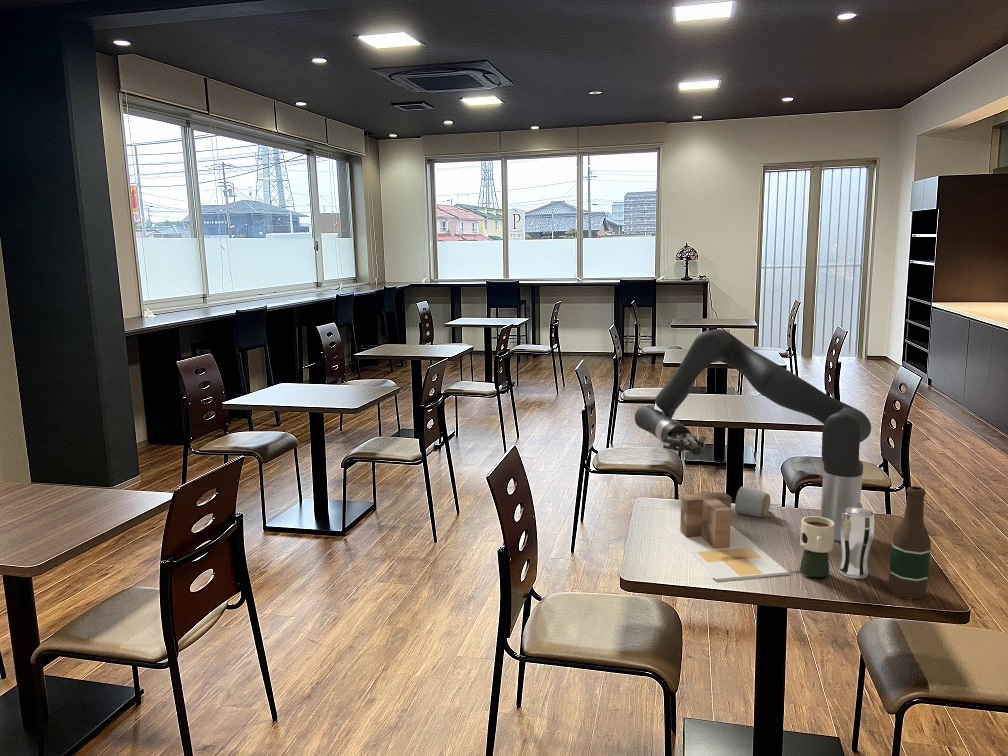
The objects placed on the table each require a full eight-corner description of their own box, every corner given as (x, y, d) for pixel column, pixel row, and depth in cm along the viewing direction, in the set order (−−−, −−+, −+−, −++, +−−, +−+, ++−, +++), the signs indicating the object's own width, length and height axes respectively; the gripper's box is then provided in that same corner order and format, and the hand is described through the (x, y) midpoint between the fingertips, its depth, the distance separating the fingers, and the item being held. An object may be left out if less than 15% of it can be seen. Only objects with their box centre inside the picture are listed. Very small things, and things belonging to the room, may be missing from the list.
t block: (680, 531, 202) (681, 495, 200) (722, 528, 204) (724, 492, 202) (699, 550, 190) (700, 511, 188) (744, 546, 192) (746, 508, 190)
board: (667, 532, 203) (667, 530, 203) (730, 527, 206) (730, 525, 206) (715, 581, 175) (715, 578, 175) (788, 574, 178) (788, 571, 178)
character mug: (796, 562, 184) (800, 511, 181) (828, 566, 182) (832, 514, 179) (799, 582, 174) (803, 528, 171) (833, 586, 171) (837, 532, 169)
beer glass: (867, 582, 173) (873, 519, 170) (834, 575, 177) (839, 514, 174) (871, 570, 179) (877, 510, 176) (839, 564, 183) (844, 504, 180)
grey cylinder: (764, 522, 209) (765, 495, 207) (733, 516, 213) (735, 490, 212) (773, 510, 218) (774, 485, 216) (744, 505, 222) (745, 480, 221)
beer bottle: (933, 600, 165) (944, 494, 160) (897, 600, 165) (907, 494, 160) (915, 583, 172) (925, 482, 168) (880, 583, 173) (889, 482, 168)
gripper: (651, 422, 217) (674, 439, 201) (695, 420, 220) (722, 436, 203) (650, 448, 219) (673, 466, 202) (693, 445, 221) (720, 463, 204)
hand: (697, 451), depth 203 cm, fingers closed
